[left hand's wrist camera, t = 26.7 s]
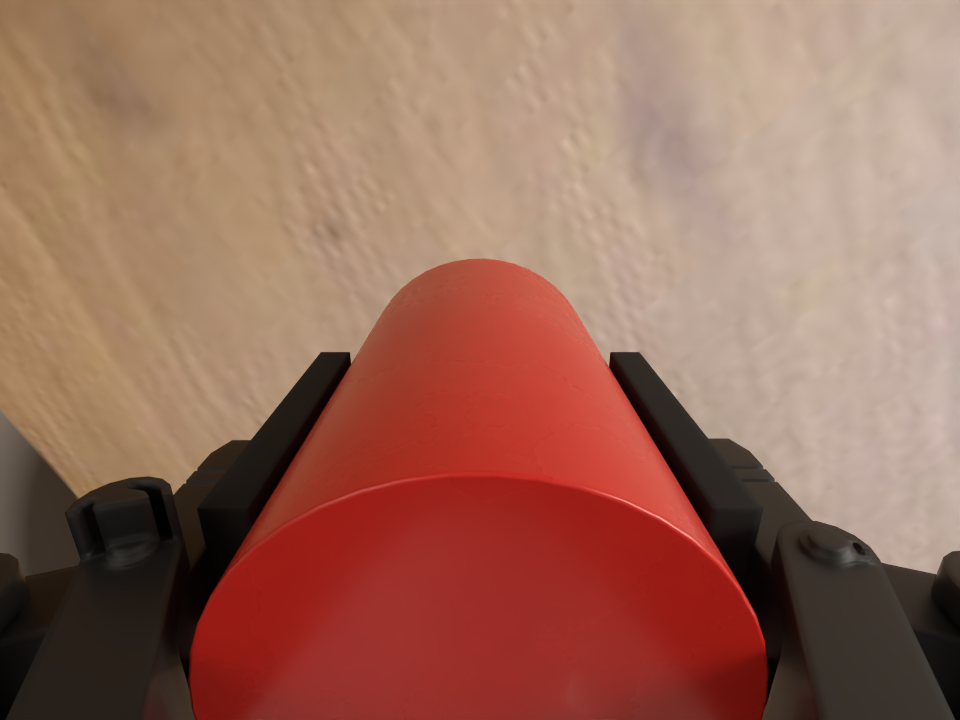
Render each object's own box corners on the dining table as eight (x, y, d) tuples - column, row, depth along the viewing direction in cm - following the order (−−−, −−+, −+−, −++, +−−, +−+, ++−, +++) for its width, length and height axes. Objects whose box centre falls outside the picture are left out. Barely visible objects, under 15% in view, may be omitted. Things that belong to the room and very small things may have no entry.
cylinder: (621, 408, 17) (835, 794, 7) (437, 491, 18) (382, 926, 8) (530, 215, 15) (642, 356, 5) (327, 323, 16) (56, 627, 6)
